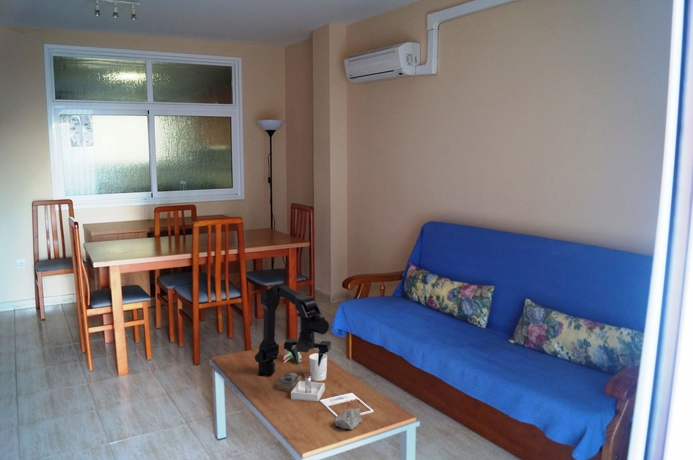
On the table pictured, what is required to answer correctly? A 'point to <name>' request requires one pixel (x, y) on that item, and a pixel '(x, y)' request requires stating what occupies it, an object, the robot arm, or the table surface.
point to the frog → (290, 356)
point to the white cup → (318, 367)
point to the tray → (314, 396)
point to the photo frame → (342, 399)
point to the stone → (348, 419)
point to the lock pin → (308, 383)
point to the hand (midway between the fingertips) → (308, 365)
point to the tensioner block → (288, 382)
